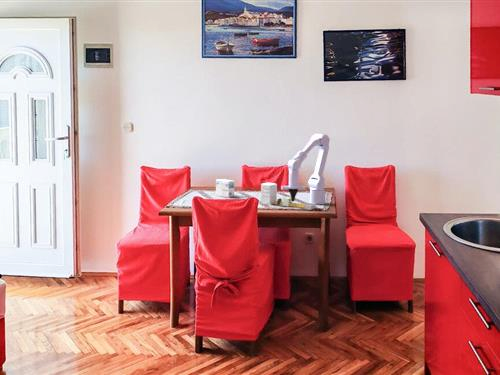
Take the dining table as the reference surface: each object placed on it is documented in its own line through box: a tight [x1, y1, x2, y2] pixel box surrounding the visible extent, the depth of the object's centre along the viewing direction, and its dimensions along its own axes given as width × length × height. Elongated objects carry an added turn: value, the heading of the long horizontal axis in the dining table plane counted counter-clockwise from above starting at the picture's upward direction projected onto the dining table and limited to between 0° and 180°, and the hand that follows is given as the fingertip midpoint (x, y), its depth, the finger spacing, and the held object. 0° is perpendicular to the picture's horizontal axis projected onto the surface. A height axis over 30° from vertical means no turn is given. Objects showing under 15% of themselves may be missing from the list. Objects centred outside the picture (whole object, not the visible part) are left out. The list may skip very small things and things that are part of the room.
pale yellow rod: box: [273, 197, 307, 209], centre depth 390 cm, size 24×4×4 cm, turn 62°
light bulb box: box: [215, 178, 235, 198], centre depth 419 cm, size 11×7×11 cm, turn 58°
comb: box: [304, 203, 317, 210], centre depth 384 cm, size 4×7×3 cm, turn 152°
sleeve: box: [282, 196, 293, 207], centre depth 391 cm, size 4×5×5 cm
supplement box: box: [260, 182, 278, 206], centre depth 397 cm, size 7×7×13 cm
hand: (292, 201), depth 389 cm, fingers closed
